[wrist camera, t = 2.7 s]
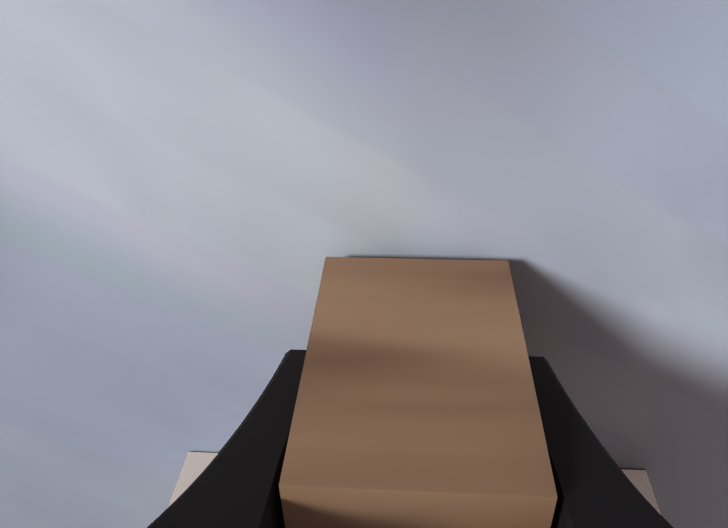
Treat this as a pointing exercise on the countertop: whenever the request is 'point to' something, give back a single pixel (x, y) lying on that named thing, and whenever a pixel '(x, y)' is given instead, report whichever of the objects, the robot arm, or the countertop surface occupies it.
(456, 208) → the countertop surface
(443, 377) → the walnut block
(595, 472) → the robot arm
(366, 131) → the countertop surface
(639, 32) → the countertop surface
